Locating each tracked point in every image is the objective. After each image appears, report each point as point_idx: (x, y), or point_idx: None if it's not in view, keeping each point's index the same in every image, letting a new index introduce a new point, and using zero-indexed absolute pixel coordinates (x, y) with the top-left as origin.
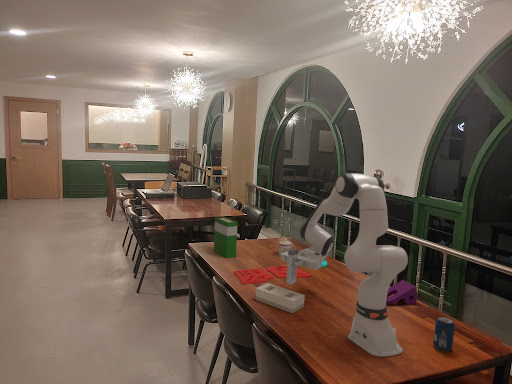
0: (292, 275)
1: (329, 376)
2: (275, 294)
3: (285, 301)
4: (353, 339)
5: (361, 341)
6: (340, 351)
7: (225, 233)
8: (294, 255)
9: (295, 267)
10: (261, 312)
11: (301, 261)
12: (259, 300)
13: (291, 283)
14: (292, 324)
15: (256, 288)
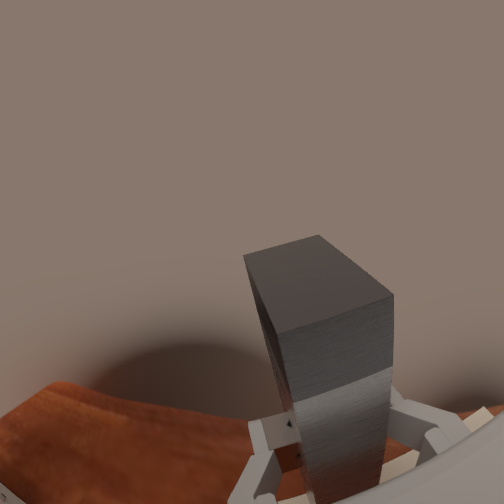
0: (302, 476)
1: (51, 387)
2: (382, 468)
3: None
4: (21, 500)
5: (6, 501)
6: (44, 454)
7: None
8: (270, 344)
9: (308, 482)
10: None
11: (243, 500)
12: None
13: (307, 497)
14: (205, 472)
15: (481, 409)
